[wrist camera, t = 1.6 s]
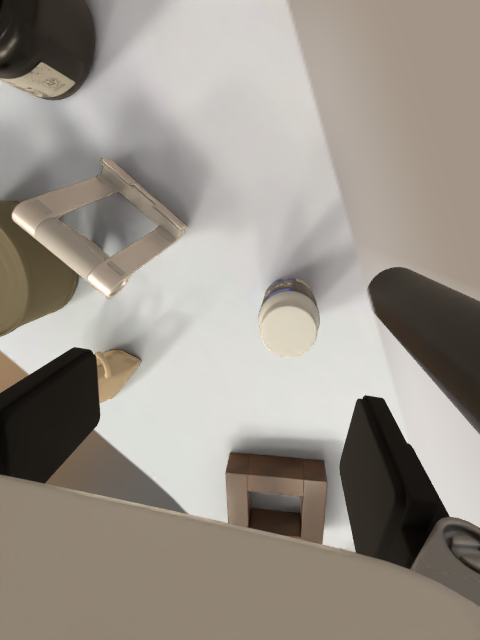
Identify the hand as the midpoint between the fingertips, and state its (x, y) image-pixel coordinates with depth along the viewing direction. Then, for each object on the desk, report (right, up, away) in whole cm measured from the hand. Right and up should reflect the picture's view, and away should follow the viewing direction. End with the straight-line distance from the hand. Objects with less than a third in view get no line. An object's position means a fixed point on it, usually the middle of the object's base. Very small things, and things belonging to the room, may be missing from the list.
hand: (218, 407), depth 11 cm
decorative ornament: (-13, -2, +24) cm, 28 cm away
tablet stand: (-10, +12, +19) cm, 24 cm away
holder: (+5, -18, +26) cm, 32 cm away
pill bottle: (+5, +5, +19) cm, 20 cm away
